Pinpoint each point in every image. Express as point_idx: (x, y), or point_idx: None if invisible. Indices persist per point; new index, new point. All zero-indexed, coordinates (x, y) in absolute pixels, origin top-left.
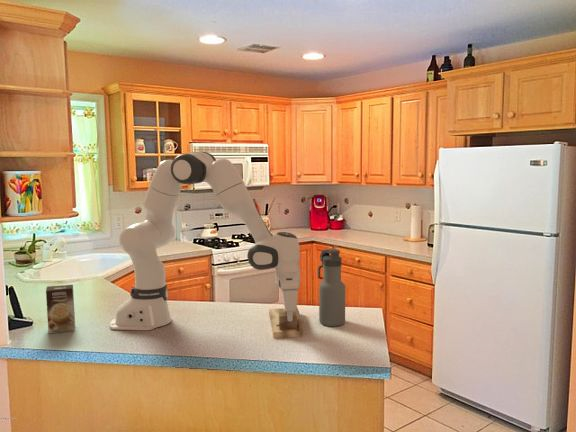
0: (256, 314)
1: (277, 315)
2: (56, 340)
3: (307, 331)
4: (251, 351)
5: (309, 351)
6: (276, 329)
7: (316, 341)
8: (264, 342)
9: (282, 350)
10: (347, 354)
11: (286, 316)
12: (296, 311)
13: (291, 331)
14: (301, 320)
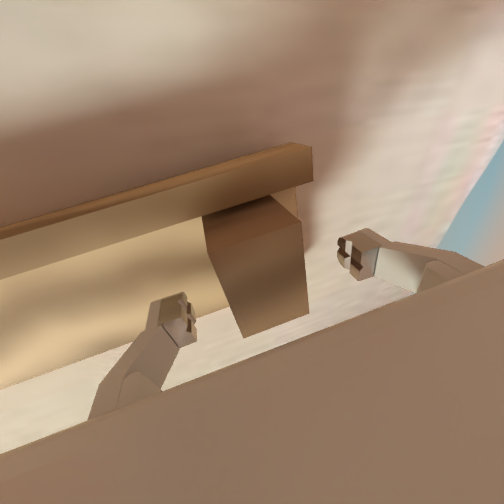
0: (45, 396)
1: (65, 336)
2: None
3: (192, 123)
4: (384, 284)
5: (453, 83)
6: None
7: (350, 40)
8: (329, 277)
9: (404, 206)
10: None
11: (305, 281)
12: (3, 261)
13: (295, 211)
14: (228, 176)
